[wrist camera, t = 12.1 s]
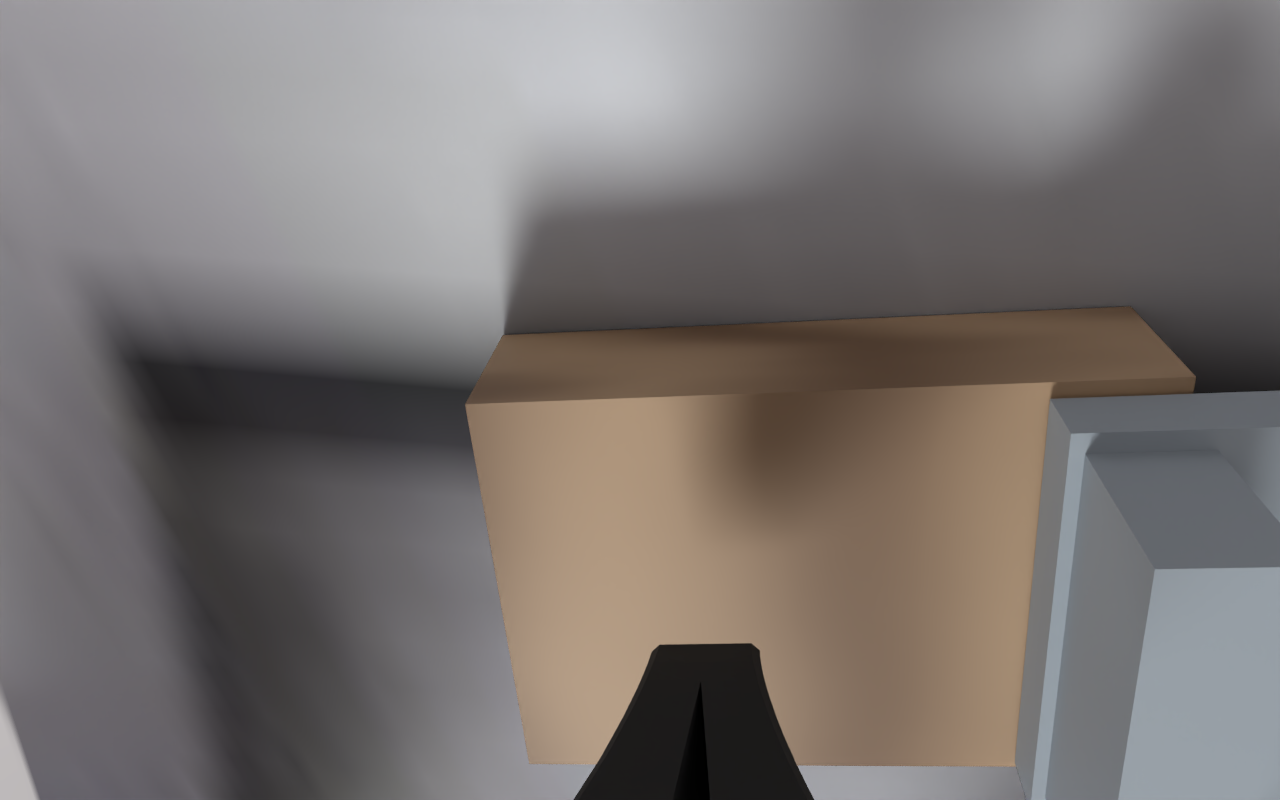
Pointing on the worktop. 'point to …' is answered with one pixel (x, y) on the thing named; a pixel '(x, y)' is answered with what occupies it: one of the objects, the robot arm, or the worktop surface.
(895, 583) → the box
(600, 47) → the worktop surface
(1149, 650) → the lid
